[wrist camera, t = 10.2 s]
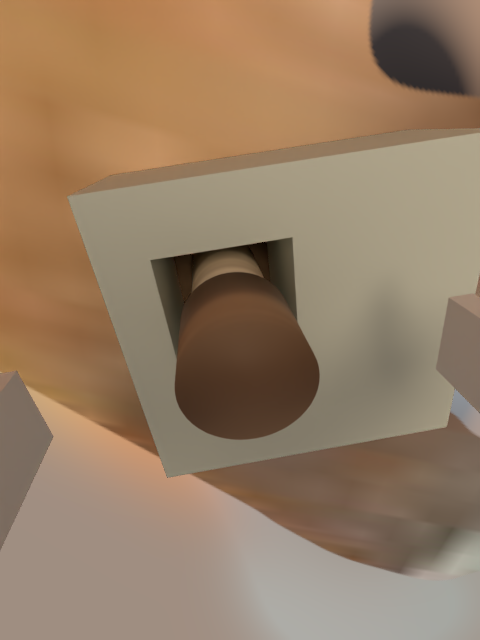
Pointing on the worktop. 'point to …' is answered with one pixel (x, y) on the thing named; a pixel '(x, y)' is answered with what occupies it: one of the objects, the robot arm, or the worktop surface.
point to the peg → (240, 351)
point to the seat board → (300, 277)
